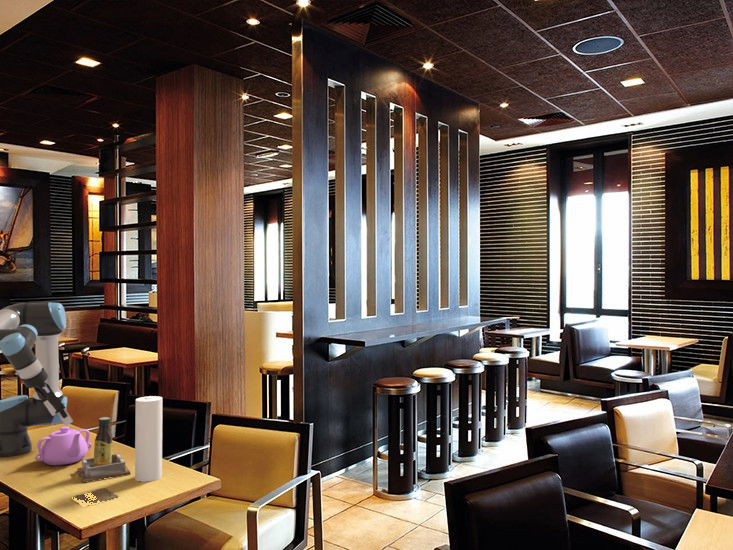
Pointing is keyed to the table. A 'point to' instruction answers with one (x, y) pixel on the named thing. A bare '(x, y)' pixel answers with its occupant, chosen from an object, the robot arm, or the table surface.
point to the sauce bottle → (103, 443)
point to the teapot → (63, 446)
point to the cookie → (98, 495)
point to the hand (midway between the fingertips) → (62, 418)
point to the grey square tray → (102, 469)
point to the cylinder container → (148, 438)
